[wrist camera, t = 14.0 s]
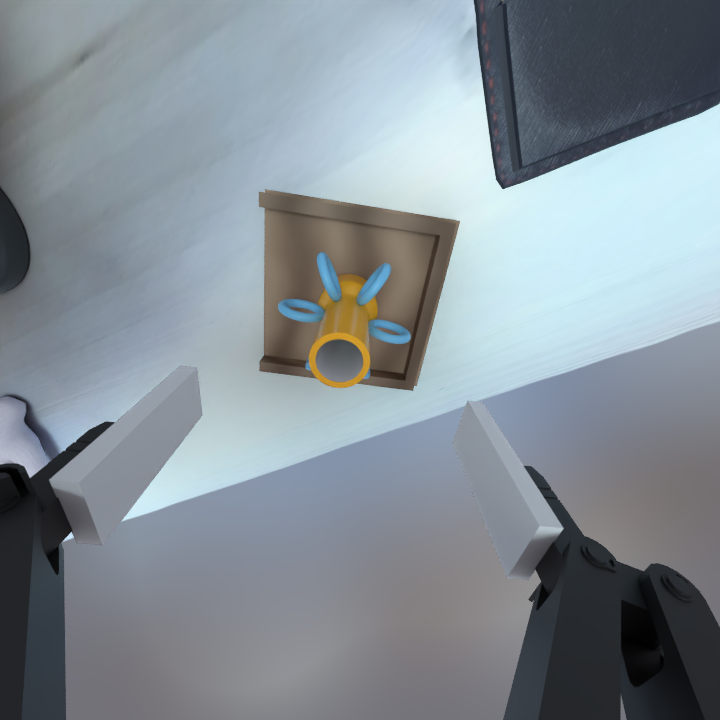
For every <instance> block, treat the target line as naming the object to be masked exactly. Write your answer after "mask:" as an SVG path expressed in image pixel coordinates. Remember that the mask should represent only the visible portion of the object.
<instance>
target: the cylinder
mask: <svg viewBox="0 0 720 720" xmlns="http://www.w3.org/2000/svg"><path fill="white" fill-rule="evenodd" d="M317 265H318V269H319V273H320V276H321V279H322V282H323V284H324V287H325V288H324V290H323V292H322V294H321V296H320V298H319V301H318V305H317V304H315V303H312V302H309V301H306V300H300V299H285V300H282V301H281V302H280V303H279V304H278V309H279V311H280V313H282V314H283V315H284V316H286V317H288V318H290V319H293V320H297V321H301V322H319V321H320V323H321V324H320V327H319V329H318V332H317V335H316V337H315V340H314V342H313V345H312V348H311V350H310V353H309V357H308V359H307V361H306V364H305V367H306V369H307V370H311V371H312V373H313V374H314V375H315V377H316V378H317V379H318V380H320V381H321V382H322V383H324V384H326V385H328V386H331V387H337V388H345V387H350V386H353V385H355V384H357V383H358V382H360V381H361V380H362V379H363V378H364V379H368V378H369V377H370V346H369V334H371V335H372V336H373V337H375V338H377V339H379V340H382V341H385V342H388V343H393V344H404V343H407V342H408V341H409V340H410V338H411V335H410V333H409V331H408V330H407V329H405V328H404V327H402V326H401V325H398V324H396V323H393V322H390V321H386V320H380V319H377V315H378V306H377V299H376V294H377V293H378V291H379V290H380V289H381V287H382V286H383V285H384V283H385V282H386V280H387V278H388V277H389V275H390V272H391V266H390V264H388V263H384V264H382V265H381V266H380V267H378V268H377V269H376V271H375V272H374V273H373V274H372V275H371V276H370V278H369V279H368V280H365V279H364V278H362V277H360V276H358V275H354V274H343V275H339V276H337V275H336V272H335V269H334V267H333V265H332V263H331V260H330V259H329V257H328V255H327V254H326V253H324V252H320V253H319V254H318V255H317ZM290 307H298V308H304V309H308V310H311V311H313V312H315V313H303V312H298V311H295V310H292V309H290ZM376 327H379V328H385V329H389V330H392V331H394V332H397V333H398V334H400V335H393V334H389V333H386V332H383V331H381V330H379V329H377V328H376Z"/></svg>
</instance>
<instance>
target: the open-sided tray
mask: <svg viewBox="0 0 720 720" xmlns="http://www.w3.org/2000/svg"><path fill="white" fill-rule="evenodd" d="M259 207H264V208H265V278H264V356H263V358H262V359H261V361H260V371H263V372H271V373H279V374H287V375H294V376H302V377H310V378H316V377H315V375H314V374H313V373H312V371H311V370H307V369H306V367H305V364H306V361H307V359H308V357H309V353H310V350H311V348H312V345H313V342H314V340H315V337H316V335H317V332H318V329H319V327H320V324H321V323H320V321H319V322H301V321H297V320H293V319H290V318H288V317H286V316H284V315H283V314H282V313H280V311H279V309H278V304H279V303H280V302H281V301H282V300H285V299H300V300H306V301H309V302H312V303H315V304H317V305H318V301H319V298H320V296H321V294H322V292H323V290H324V288H325V287H324V284H323V282H322V279H321V276H320V273H319V269H318V265H317V255H318V254H319V253H320V252H324V253H326V254H327V255H328V257H329V259H330V260H331V263H332V265H333V267H334V269H335V272H336V275H337V276H339V275H343V274H354V275H358V276H360V277H362V278H364V279H365V280H368V279H369V278H370V276H371V275H372V274H373V273H374V272H375V271H376V269H377V268H378V267H380V266H381V265H382V264H384V263H388V264H390V266H391V272H390V275H389V277H388V278H387V280H386V282H385V283H384V285H383V286H382V287H381V289H380V290H379V291H378V293H377V294H376V299H377V306H378V315H377V319H380V320H386V321H390V322H393V323H396V324H398V325H401V326H402V327H404V328H405V329H407V330H408V331H409V333H410V335H411V338H410V340H409V341H408V342H407V343H404V344H393V343H388V342H385V341H382V340H379V339H377V338H375V337H373V336H372V335H371V334H369V346H370V377H369V378H368V379H364V378H363V379H362V380H361V381H360V382H358V383H357V384H365V385H372V386H380V387H388V388H396V389H404V390H412V391H413V388H414V386H417V382H418V378H419V374H420V371H421V367H422V363H423V359H424V355H425V352H426V348H427V344H428V340H429V336H430V333H431V329H432V325H433V321H434V318H435V314H436V310H437V306H438V302H439V299H440V295H441V291H442V287H443V283H444V280H445V276H446V272H447V268H448V265H449V261H450V257H451V253H452V249H453V246H454V242H455V238H456V234H457V230H458V227H459V223H460V221H456V220H450V219H444V218H438V217H431V216H425V215H419V214H413V213H407V212H401V211H394V210H388V209H382V208H376V207H370V206H364V205H357V204H351V203H345V202H339V201H333V200H327V199H321V198H314V197H308V196H302V195H296V194H290V193H284V192H277V191H271V190H265V193H263V192H259ZM290 309H292V310H295V311H298V312H303V313H315V312H313V311H311V310H308V309H304V308H298V307H290ZM376 328H377V329H379V330H381V331H383V332H386V333H389V334H393V335H400V334H398V333H397V332H394V331H392V330H389V329H385V328H379V327H376Z"/></svg>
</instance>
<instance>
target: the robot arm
mask: <svg viewBox="0 0 720 720" xmlns="http://www.w3.org/2000/svg"><path fill="white" fill-rule="evenodd" d="M28 260H29V252H28V244H27V239H26V235H25V232H24V229H23V226H22V224H21V222H20V220H19V218H18V216H17V214H16V212H15V210H14V208H13V207H12V205H11V204H10V202H9V201H8V199H7V198H6V196H5V195H4V194H3V192H2V191H1V190H0V293H3V292H6V291H8V290H10V289H12V288H14V287H15V286H16V285H17V284H18V283H19V282H20V281H21V280H22V278H23V277H24V275H25V273H26V270H27V266H28ZM201 416H202V408H201V399H200V390H199V381H198V372H197V368H194V367H186V366H179V367H178V368H177V369H176V370H175V371H174V372H173V373H171V374H170V375H169V376H168V377H167V378H166V379H165V380H163V381H162V382H161V383H160V384H159V385H158V386H156V387H155V388H154V389H153V390H152V391H151V392H150V393H148V394H147V395H146V396H145V397H144V398H143V399H142V400H140V401H139V402H138V403H137V404H136V405H135V406H133V407H132V408H131V409H130V410H129V411H128V412H127V413H125V414H124V415H123V416H122V417H121V418H120V419H118V420H117V421H116V422H104V423H102V424H100V425H98V426H96V427H94V428H92V429H90V430H89V431H87V432H86V433H85V434H84V435H82V436H81V437H80V438H79V439H78V440H77V441H76V443H75V442H74V443H73V444H71V445H70V446H69V447H68V448H66V451H63V452H62V453H60V454H59V455H58V456H57V457H55V458H54V459H53V460H52V461H50V462H49V463H48V464H47V465H46V466H44V467H43V468H42V469H41V470H39V471H38V472H37V473H36V474H34V475H33V476H32V477H31V478H30V477H29V475H28V473H27V471H26V469H25V467H24V466H22V465H20V464H17V463H5V464H0V720H66V687H65V617H64V616H65V614H64V549H63V547H62V544H61V542H62V541H63V540H64V539H65V538H66V537H67V536H68V535H69V534H70V532H71V531H72V534H73V536H74V538H75V540H76V543H79V544H93V545H103V544H104V543H105V542H106V540H107V539H108V538H109V537H110V535H111V534H112V533H113V531H114V530H115V529H116V527H117V526H118V525H119V523H120V522H121V521H122V520H123V518H124V517H125V516H126V514H127V513H128V512H129V510H130V509H131V508H132V507H133V505H134V504H135V503H136V501H137V500H138V499H139V497H140V496H141V495H142V493H143V492H144V491H145V490H146V488H147V487H148V486H149V484H150V483H151V482H152V480H153V479H154V478H155V476H156V475H157V474H158V473H159V471H160V470H161V469H162V467H163V466H164V465H165V463H166V462H167V461H168V459H169V458H170V457H171V456H172V454H173V453H174V452H175V450H176V449H177V448H178V446H179V445H180V444H181V442H182V441H183V440H184V439H185V437H186V436H187V435H188V433H189V432H190V431H191V429H192V428H193V427H194V425H195V424H196V423H197V422H198V420H199V419H200V418H201ZM453 446H454V449H455V451H456V454H457V456H458V459H459V461H460V463H461V466H462V468H463V471H464V473H465V476H466V478H467V481H468V483H469V486H470V488H471V491H472V493H473V496H474V498H475V501H476V503H477V505H478V508H479V511H480V513H481V516H482V518H483V521H484V523H485V525H486V528H487V530H488V533H489V535H490V538H491V540H492V543H493V545H494V548H495V550H496V553H497V555H498V558H499V560H500V563H501V565H502V568H503V570H504V573H505V575H506V578H510V579H522V580H529V578H530V577H531V575H532V574H533V572H534V571H535V569H536V571H537V573H538V575H539V578H540V580H541V583H540V584H539V585H538V587H537V588H536V589H535V591H534V592H533V594H532V595H531V597H530V598H529V601H531V602H532V601H533V600H534V602H533V606H532V610H531V615H530V618H529V622H528V626H527V630H526V634H525V637H524V641H523V645H522V649H521V653H520V657H519V661H518V665H517V668H516V672H515V676H514V680H513V684H512V688H511V692H510V696H509V700H508V704H507V707H506V711H505V715H504V719H503V720H620V696H622V700H623V704H624V709H625V714H626V718H627V720H720V627H719V625H718V623H717V621H716V619H715V617H714V615H713V613H712V612H711V610H710V608H709V606H708V604H707V602H706V600H705V599H704V597H703V596H702V594H701V593H700V591H699V590H698V589H697V588H696V587H695V586H694V585H693V584H692V583H691V582H690V581H689V580H687V579H686V578H685V577H684V576H682V575H681V574H679V573H678V572H676V571H675V570H673V569H671V568H669V567H668V566H664V565H661V564H650V566H649V567H648V568H647V569H646V570H645V571H641V570H639V569H636V568H633V567H631V566H628V565H626V564H623V563H620V562H618V561H616V559H615V557H614V556H613V555H612V554H611V553H610V552H609V551H608V550H607V549H606V548H605V547H604V546H602V545H601V544H599V543H598V542H597V541H594V540H593V539H590V538H588V537H585V536H584V535H583V534H582V532H581V531H580V529H579V528H578V526H577V525H576V524H575V522H574V521H573V519H572V518H571V516H570V515H569V513H568V512H567V511H566V509H565V508H564V507H563V505H562V503H561V502H560V500H558V498H557V496H556V495H555V494H554V492H553V491H551V487H550V486H549V485H548V483H547V482H546V480H545V479H544V477H543V476H542V475H540V474H539V473H538V472H537V471H536V470H535V469H534V468H533V467H531V466H523V465H522V463H521V461H520V460H519V458H518V457H517V455H516V454H515V452H514V451H513V449H512V448H511V446H510V445H509V443H508V441H507V440H506V438H505V437H504V435H503V434H502V432H501V430H500V429H499V427H498V426H497V424H496V423H495V421H494V420H493V418H492V416H491V415H490V413H489V412H488V410H487V409H486V407H485V406H484V404H483V403H482V402H474V401H467V404H466V407H465V410H464V412H463V415H462V418H461V421H460V424H459V426H458V429H457V432H456V434H455V437H454V440H453Z"/></svg>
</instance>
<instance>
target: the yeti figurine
mask: <svg viewBox="0 0 720 720" xmlns="http://www.w3.org/2000/svg"><path fill="white" fill-rule="evenodd" d="M25 414H26V404H25V402H23V401H21V400H17V399H15V398H13V397H10V396H5V397H1V398H0V464H5V463H17V464H20V465H22V466H24V467H25V469H26V471H27V473H28V475H29V477H30V478H31V477H32V476H33V475H34V474H36V473H37V472H38V471H39V470H41V469H42V468H43V467H44V466H46V465H47V464H48V461H47V458H46V455H45V452H44V450H43V448H42V445H41V443H40V441H39V439H38V437H37V436H36V435H35V434H34V433H33V432H32V431H31V429H30V428H29V427H28V426H27V425H26V424H25V422H24V417H25Z"/></svg>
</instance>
